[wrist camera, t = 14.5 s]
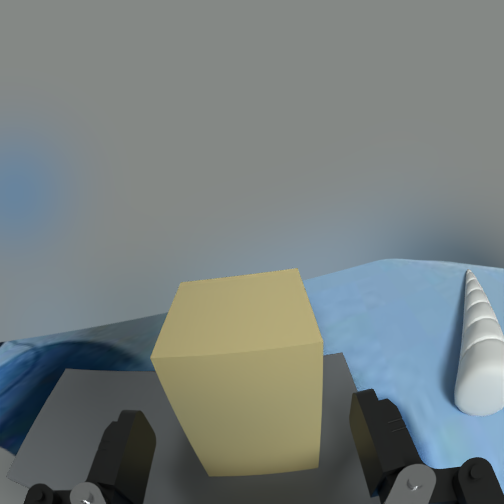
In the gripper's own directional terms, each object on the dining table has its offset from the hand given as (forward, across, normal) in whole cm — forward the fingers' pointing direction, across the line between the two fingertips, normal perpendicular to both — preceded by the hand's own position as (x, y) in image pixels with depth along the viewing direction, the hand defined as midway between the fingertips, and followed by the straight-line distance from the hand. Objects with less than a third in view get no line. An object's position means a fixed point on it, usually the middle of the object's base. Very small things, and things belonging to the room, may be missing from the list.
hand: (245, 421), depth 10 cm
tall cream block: (+5, 0, +8) cm, 9 cm away
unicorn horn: (+11, -20, +9) cm, 25 cm away
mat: (+5, +6, +8) cm, 11 cm away
